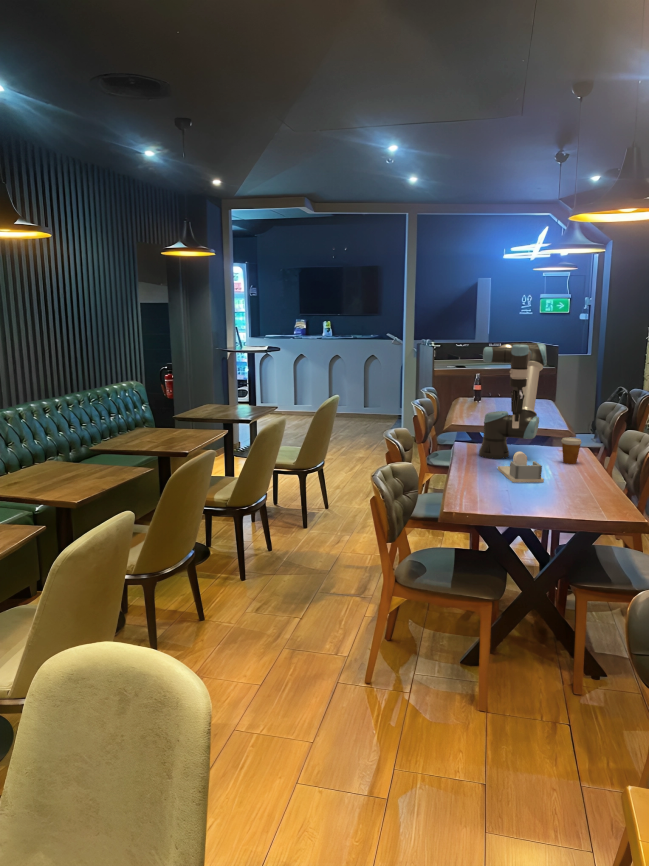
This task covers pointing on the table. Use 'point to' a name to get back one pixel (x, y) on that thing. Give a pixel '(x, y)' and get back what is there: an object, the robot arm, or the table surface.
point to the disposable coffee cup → (570, 449)
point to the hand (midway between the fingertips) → (515, 427)
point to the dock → (522, 472)
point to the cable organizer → (520, 458)
